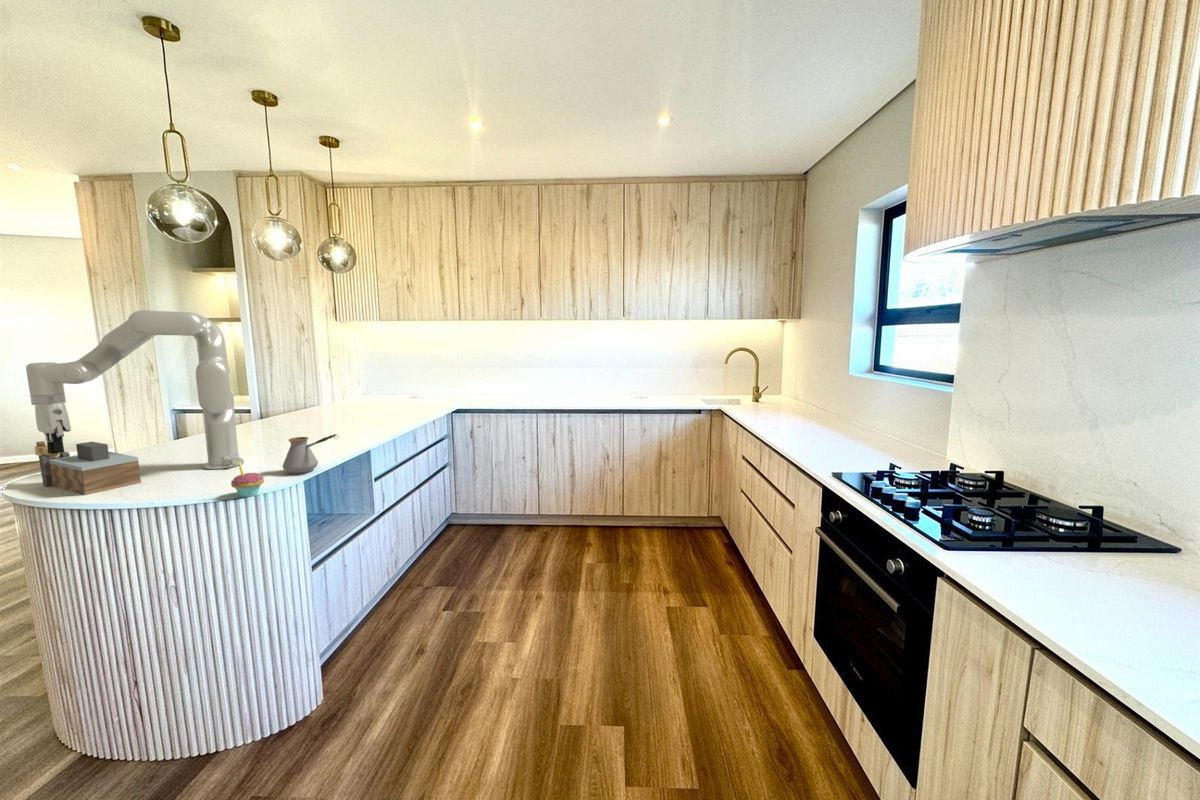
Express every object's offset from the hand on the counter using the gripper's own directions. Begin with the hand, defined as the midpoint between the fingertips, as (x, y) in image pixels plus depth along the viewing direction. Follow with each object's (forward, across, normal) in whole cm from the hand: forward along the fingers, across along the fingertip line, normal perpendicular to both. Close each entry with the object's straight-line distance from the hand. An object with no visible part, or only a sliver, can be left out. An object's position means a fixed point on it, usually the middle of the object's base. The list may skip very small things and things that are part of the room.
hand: (56, 452), depth 159 cm
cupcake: (+12, -69, -19) cm, 72 cm away
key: (+2, +7, 0) cm, 7 cm away
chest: (+11, -9, -4) cm, 15 cm away
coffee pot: (+11, -64, -45) cm, 79 cm away
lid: (+4, -11, -5) cm, 12 cm away
